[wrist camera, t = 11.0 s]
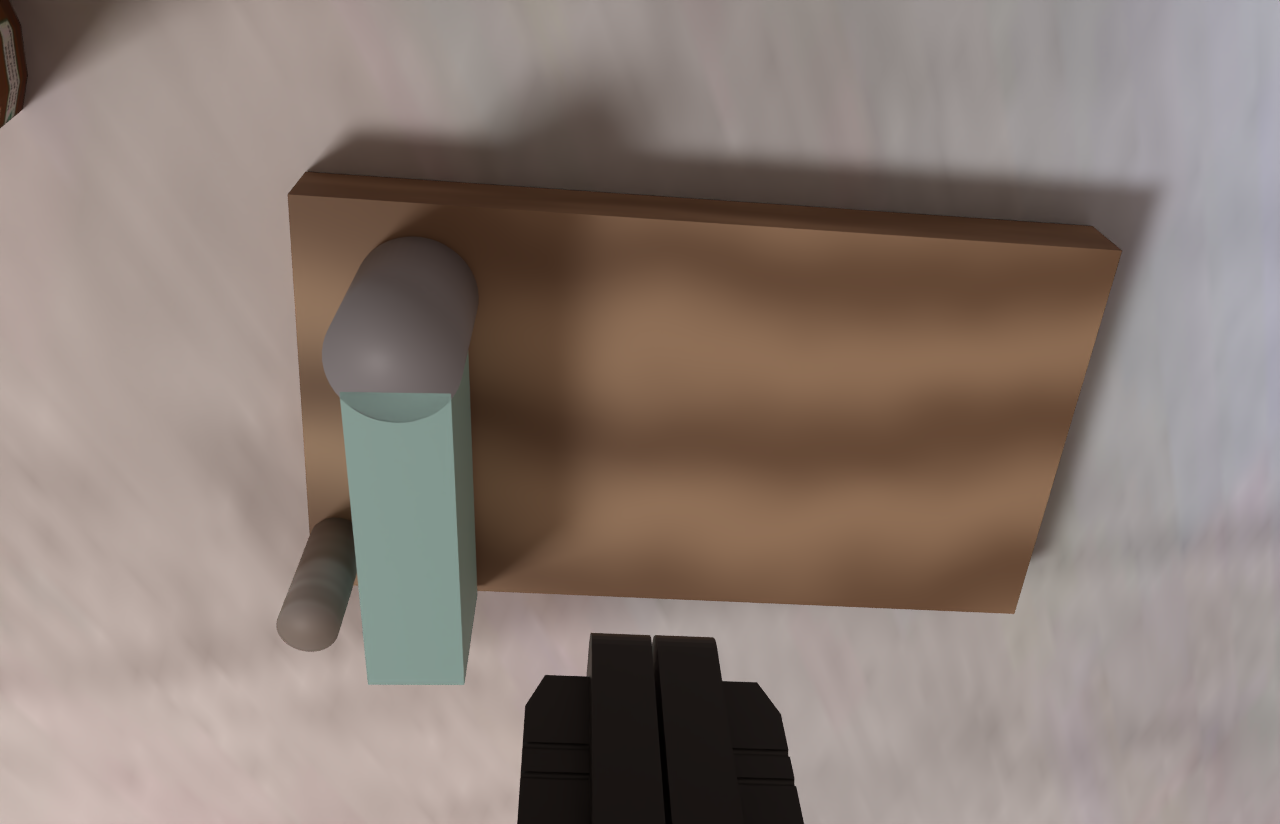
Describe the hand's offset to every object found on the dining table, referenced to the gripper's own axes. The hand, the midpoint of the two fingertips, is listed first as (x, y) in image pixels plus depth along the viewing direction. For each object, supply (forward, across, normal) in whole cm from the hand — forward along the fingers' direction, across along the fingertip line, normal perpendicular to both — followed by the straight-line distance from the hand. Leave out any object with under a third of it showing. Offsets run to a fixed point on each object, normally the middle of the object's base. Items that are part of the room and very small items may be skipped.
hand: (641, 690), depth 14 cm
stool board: (+27, -4, +10) cm, 29 cm away
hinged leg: (+24, +6, +10) cm, 27 cm away
